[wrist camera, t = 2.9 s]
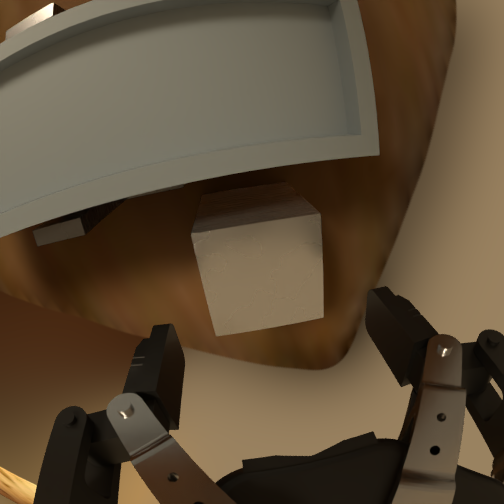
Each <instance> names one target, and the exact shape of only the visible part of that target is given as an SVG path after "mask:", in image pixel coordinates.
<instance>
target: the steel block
mask: <svg viewBox="0 0 504 504" xmlns="http://www.w3.org/2000/svg"><path fill="white" fill-rule="evenodd" d="M191 237H192V241H193V246H194V250H195V255H196V259H197V263H198V267H199V271H200V276H201V280H202V284H203V288H204V292H205V296H206V300H207V304H208V307H209V311H210V315H211V319H212V323H213V326H214V330H215V334H216V336H221V335H228V334H235V333H242V332H248V331H254V330H260V329H266V328H272V327H277V326H283V325H288V324H294V323H299V322H304V321H309V320H314V319H319V318H324V302H323V253H322V229H321V213H320V212H318V211H317V210H316V209H315V208H314V207H313V206H312V205H311V204H310V203H309V202H308V201H307V200H306V199H304V198H303V197H302V196H301V195H300V194H299V193H298V192H297V191H296V190H295V189H293V188H292V187H291V186H290V185H289V184H288V183H287V182H281V183H274V184H267V185H260V186H253V187H246V188H240V189H234V190H227V191H221V192H215V193H210V194H204V195H202V197H201V201H200V204H199V207H198V211H197V214H196V218H195V221H194V225H193V228H192V232H191Z"/></svg>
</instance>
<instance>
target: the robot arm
mask: <svg viewBox="0 0 504 504" xmlns="http://www.w3.org/2000/svg"><path fill="white" fill-rule="evenodd" d="M365 324H366V329H367V332H368V334H369V335H370V337H371V338H372V340H373V342H374V343H375V345H376V347H377V348H378V350H379V352H380V353H381V354H382V356H383V358H384V360H385V361H386V363H387V364H388V366H389V368H390V369H391V371H392V373H393V374H394V376H395V378H396V379H397V381H398V383H399V384H400V386H401V387H403V386H405V385H408V384H412V386H413V389H412V392H411V396H410V400H409V405H408V408H407V412H406V416H405V419H404V423H403V427H402V430H401V432H400V435H399V437H398V440H395V439H386V438H385V439H376V437H375V434H374V432H369V433H366V434H363V435H360V436H357V437H354V438H350V439H347V440H343V441H342V442H340V443H337V444H336V445H334V446H332V447H330V448H328V449H326V450H324V451H322V452H319V453H317V454H315V455H312V456H277V455H275V456H269V457H263V458H255V459H247V460H242V462H243V468H241V469H238V470H236V471H234V472H231V473H229V474H228V475H226V476H224V477H223V478H221V479H220V480H219V481H217V482H216V483H214V482H213V481H212V480H211V479H210V478H209V477H208V476H207V475H206V474H205V473H204V471H203V470H202V469H201V468H200V467H199V466H198V465H197V464H196V463H195V462H194V461H193V460H192V459H191V458H190V456H189V455H188V454H187V453H186V452H185V451H184V450H183V448H181V446H180V445H179V444H178V443H177V442H176V440H175V439H174V438H173V437H172V436H171V435H169V430H178V429H179V418H180V408H181V397H182V388H183V378H184V369H185V359H184V354H183V350H182V348H181V345H180V342H179V339H178V337H177V334H176V331H175V328H174V326H173V324H163V325H154V326H153V328H152V332H151V335H150V338H147V339H143V340H142V341H141V343H140V344H139V345H138V346H137V347H136V350H135V353H134V356H133V358H134V359H133V360H132V363H131V367H130V369H129V373H128V376H127V379H126V383H125V386H124V390H123V393H122V394H121V395H118V396H116V397H115V398H114V399H112V401H111V402H110V403H109V405H108V407H107V409H106V410H103V411H99V412H95V413H91V414H86V412H85V411H84V410H83V409H82V408H80V407H77V406H71V407H68V408H65V409H64V410H62V411H61V412H60V413H59V414H58V416H57V417H56V420H55V423H54V426H53V429H52V432H51V435H50V439H49V442H48V445H47V449H46V452H45V456H44V460H43V463H42V467H41V471H40V475H39V480H38V484H37V488H36V493H35V498H34V503H33V504H118V491H119V480H120V470H121V463H123V462H127V461H131V463H132V464H133V466H134V468H135V469H136V471H137V472H138V473H139V475H140V476H141V478H142V479H143V481H144V482H145V484H146V485H147V486H148V488H149V489H150V490H151V492H152V493H153V495H154V496H155V497H156V499H157V500H158V501H159V503H160V504H504V336H503V334H501V333H500V332H498V331H495V330H484V331H482V332H481V333H480V334H479V336H478V339H477V341H476V342H471V343H460V342H459V341H458V340H457V339H456V338H454V337H453V336H450V335H446V334H438V332H437V331H436V330H435V329H434V328H433V327H432V326H431V325H430V323H429V322H428V321H427V320H426V319H425V318H424V317H423V316H422V315H421V314H420V312H419V311H418V310H417V309H415V307H414V306H413V305H412V303H411V302H410V301H409V300H407V299H405V298H403V297H401V296H399V295H397V296H395V295H394V294H393V293H392V292H391V291H390V289H389V288H388V287H386V286H385V287H381V288H376V289H372V290H369V292H368V296H367V308H366V318H365ZM492 378H493V379H494V381H495V382H496V383H497V385H498V386H499V388H500V389H501V391H502V393H503V400H502V399H501V398H500V397H499V395H498V393H497V392H496V391H495V389H494V388H493V386H492V385H491V383H490V380H491V379H492ZM465 406H466V408H467V409H468V411H469V413H470V415H471V416H472V418H473V420H474V422H475V423H476V425H477V427H478V429H479V431H480V432H481V434H482V436H483V438H484V440H485V442H486V443H487V445H488V447H489V449H490V451H491V453H492V455H493V457H494V460H493V464H492V468H493V470H492V471H491V477H489V476H486V475H483V474H480V473H478V472H475V471H472V470H470V469H467V468H464V467H462V466H459V465H457V462H458V458H459V452H460V445H461V440H462V432H463V425H464V415H465Z"/></svg>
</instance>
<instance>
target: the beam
mask: <svg viewBox="0 0 504 504" xmlns="http://www.w3.org/2000/svg"><path fill="white" fill-rule="evenodd" d="M375 155H380V152H379V136H378V123H377V112H376V103H375V94H374V86H373V79H372V72H371V66H370V59H369V54H368V48H367V43H366V38H365V33H364V28H363V23H362V19H361V14H360V10H359V6H358V2H357V0H93V1H90V2H87V3H85V4H82V5H79V6H76V7H74V8H71V9H69V10H66V11H64V12H61V13H59V14H57V15H54V16H52V17H50V18H48V19H46V20H43V21H41V22H39V23H37V24H35V25H33V26H31V27H29V28H27V29H25V30H24V31H22V32H20V33H18V34H16V35H14V36H13V37H11V38H9V39H7V40H6V41H4V42H2V43H1V44H0V237H3V236H5V235H8V234H11V233H13V232H16V231H19V230H22V229H24V228H27V227H30V226H33V225H36V224H39V223H42V222H45V221H48V220H51V219H54V218H57V217H60V216H63V215H66V214H70V213H73V212H76V211H79V210H83V209H86V208H90V207H93V206H97V205H100V204H104V203H107V202H111V201H115V200H118V199H122V198H126V197H130V196H134V195H138V194H142V193H146V192H150V191H154V190H158V189H162V188H167V187H171V186H176V185H180V184H185V183H189V182H194V181H199V180H204V179H209V178H214V177H219V176H225V175H230V174H236V173H241V172H247V171H253V170H259V169H265V168H272V167H278V166H285V165H292V164H300V163H307V162H315V161H323V160H332V159H342V158H352V157H363V156H375Z"/></svg>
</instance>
